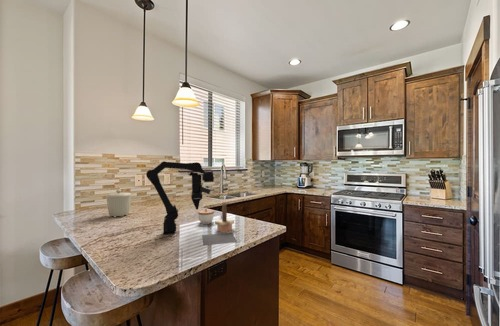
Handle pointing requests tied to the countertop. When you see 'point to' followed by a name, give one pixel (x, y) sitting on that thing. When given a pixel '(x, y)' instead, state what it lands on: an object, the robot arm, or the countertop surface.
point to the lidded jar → (205, 216)
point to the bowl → (224, 228)
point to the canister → (118, 203)
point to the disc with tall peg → (224, 217)
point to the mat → (218, 239)
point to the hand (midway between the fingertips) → (197, 208)
